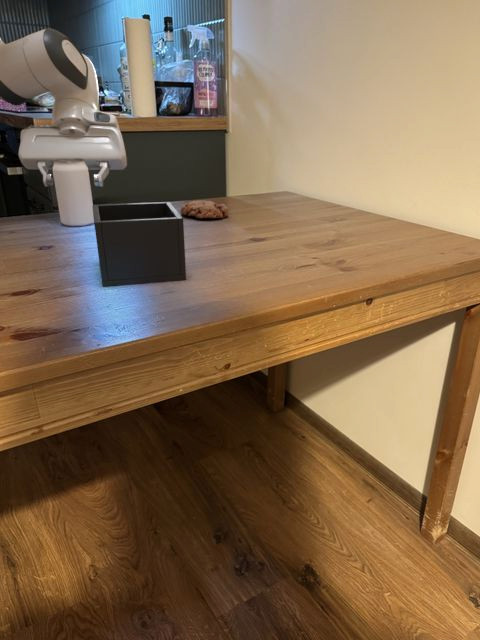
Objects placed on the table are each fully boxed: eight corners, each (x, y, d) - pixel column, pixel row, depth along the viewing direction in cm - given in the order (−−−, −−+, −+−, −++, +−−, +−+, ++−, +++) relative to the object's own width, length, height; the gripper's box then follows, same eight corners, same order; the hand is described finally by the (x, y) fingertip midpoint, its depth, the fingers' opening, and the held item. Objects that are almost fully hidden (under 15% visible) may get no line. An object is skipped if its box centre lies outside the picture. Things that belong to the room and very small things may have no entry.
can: (90, 218, 104) (81, 157, 99) (99, 224, 99) (91, 161, 94) (57, 221, 101) (47, 158, 95) (65, 228, 96) (55, 162, 91)
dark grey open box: (102, 286, 68) (94, 222, 64) (99, 261, 78) (92, 204, 74) (186, 279, 72) (183, 218, 68) (173, 256, 81) (170, 201, 77)
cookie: (185, 210, 113) (184, 196, 112) (231, 212, 113) (231, 198, 111) (175, 220, 104) (174, 205, 103) (225, 222, 104) (225, 207, 102)
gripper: (15, 114, 97) (11, 174, 93) (123, 116, 99) (124, 174, 95) (26, 137, 103) (22, 194, 99) (128, 138, 105) (128, 194, 101)
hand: (73, 184), depth 97 cm, fingers open, 8 cm apart
